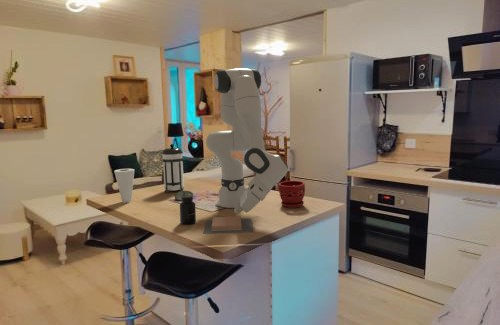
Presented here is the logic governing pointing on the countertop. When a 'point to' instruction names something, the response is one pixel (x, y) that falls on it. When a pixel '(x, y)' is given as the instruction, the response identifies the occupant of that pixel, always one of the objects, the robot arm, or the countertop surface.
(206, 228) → the mat
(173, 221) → the countertop surface
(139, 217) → the countertop surface
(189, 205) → the supplement bottle
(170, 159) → the coffee press
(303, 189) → the plant pot
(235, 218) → the tile
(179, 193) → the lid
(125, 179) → the cup
